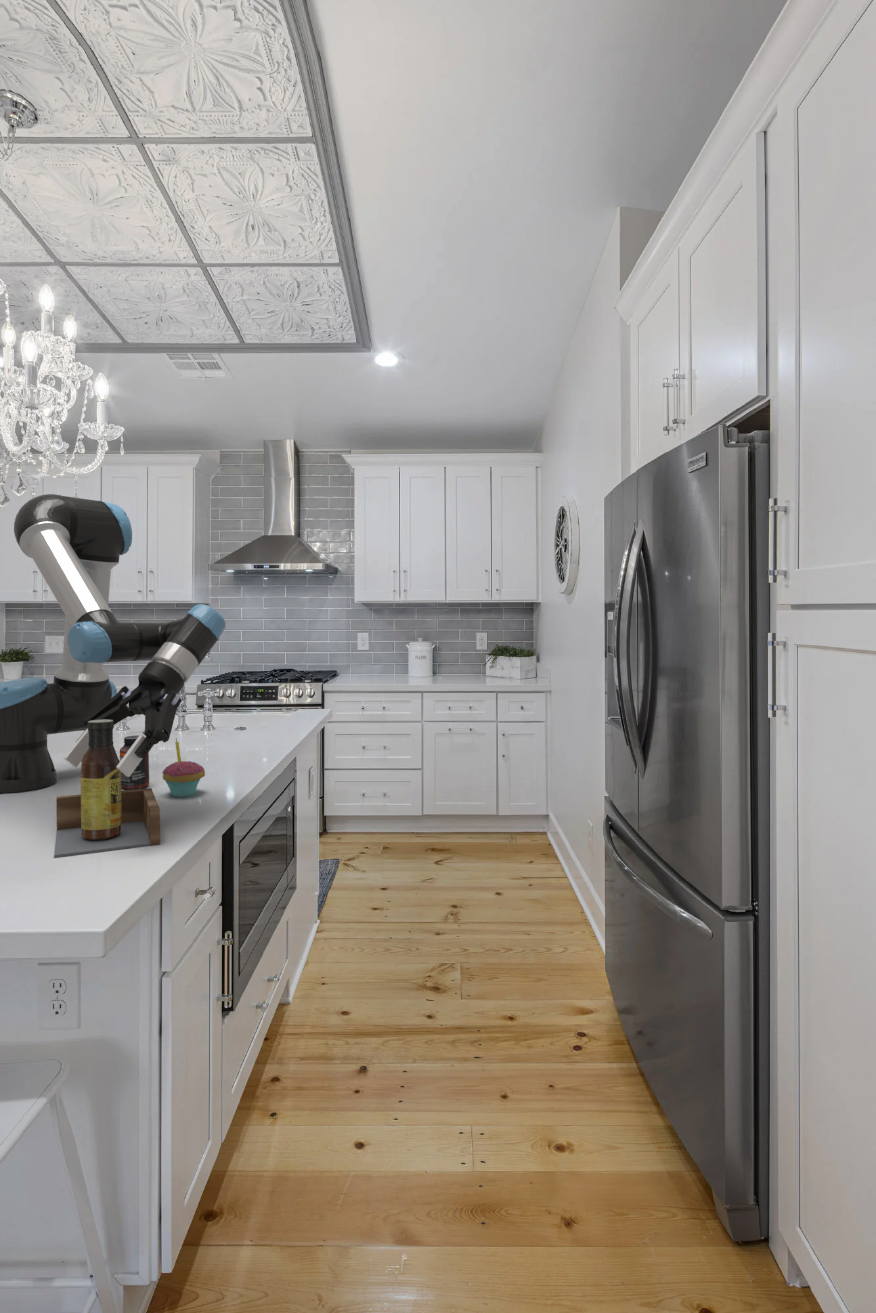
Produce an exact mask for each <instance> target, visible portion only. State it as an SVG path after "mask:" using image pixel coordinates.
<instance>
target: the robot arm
mask: <svg viewBox="0 0 876 1313" xmlns="http://www.w3.org/2000/svg"><path fill="white" fill-rule="evenodd" d="M13 522H14V523H13V532H14V537H15V540H16V543H17V544H18V547H19V548H20V550H21V551H22V553H23V554H24V555H25V556H26V557H29V558H31V559H33V562H34V563H35V565H36V567H37V569H38V570H39V572H40V574H41V576H42V577H43V579H44V580H45V583H46V585H47V586H48V588H49V589H50V592H51V593H52V594H53V597H54V598H55V599H56V601H57V603H58V605H59V607H60V609H61V610H62V612H63V613H64V615H65V624H64V636H63V651H62V663H61V664H62V665H61V667H60V668H59V669H57V670H56V671H55V672H54V673H53V682H52V683H49V682H48V681H47V679H45V678H44V677H30V678H29V677H28V678H19V679H13V680H7V681H2V682H0V793H3V794H4V793H6V794H7V793H18V792H27V791H33V790H39V789H42V788H46V787H50V786H52V785H54V784H55V783H57V781H58V780H57V779H58V775H57V770H56V769H55V765H54V761H53V759H52V756H51V754H50V751H49V749H48V748H49V747H48V735H52V734H53V735H56V734H62V733H63V734H65V733H72V732H80V731H83V732H82V734H80V736H79V737H78V738H77V740H76V741H75V743H74V744H73V746H72V747H71V748H70V749H69V750H68V752H67V753H66V754H65V755H64V757H63V759H64V760H65V761H66V762H68V763H69V764H70V765H71V766H72V767H74V768H78V767H79V765H81V764H82V759H83V757H84V754H86V752H87V750H88V749H89V745H88V743H89V732H88V727H87V723H88V721H92V720H103V719H107V720H113V721H114V726H116V725H117V724H118V723H120V722H122V721H123V720H124V719H126V718H127V717H128V718H133V717H134V716H135V715H137V716H140V715H142V716H144V730H143V731H142V734H143V735H141V734H139V737H138V738H137V740H136V741H135V742H134V744H133V745H132V746H131V748H130V749H129V750H128V752H127V753H126V754H125V756H124V757H123V758H122V760H121V761H120V760H119V761H120V762H119V764H118V765H117V768H118V769H119V770H120V771H121V772H122V773H123V774H124V775H125V776H127V777H130V775H131V774H132V773H133V771H134V770H135V769H136V767H137V766H138V764H139V763H140V762H141V760H142V759H143V758H144V757H145V756H146V755H147V754H148V752H150V751H151V750H152V748H153V747H154V746H155V745H157V744H158V743H159V742H162V743H167V742H169V740H170V737H171V732H172V729H173V724H174V721H175V717H176V715H177V709H178V708H179V706H180V705H181V704H182V702H183V699H182V698H181V697H180V696H179V693H180V692H181V691H182V690H183V688H184V686H185V683H187V682H188V680H189V679H190V678H191V676H192V675H193V674H194V672H195V671H196V669H197V668H198V667H199V666H200V664H201V663H202V661H203V660H204V659H205V658H206V656H207V655H208V653H210V652H211V650H212V648H213V647H214V646H215V644H216V643H217V642H218V641H219V640H220V638H221V635H222V634H223V632H224V630H226V621H225V618H224V617H223V615H221V614H220V612H219V611H217V610H216V609H215V608H213V607H212V606H209V605H206V604H203V603H201V604H200V603H198V604H196V605H194V606H192V607H191V609H190V610H189V611H187V613H186V615H185V616H184V617H182V618H180V619H175V620H171V621H168V622H166V621H165V622H120V621H118V619H117V618H116V616H115V615H114V613H113V612H112V610H111V608H110V607H109V598H110V589H111V588H110V587H111V578H112V577H111V575H112V574H111V573H112V569H113V568H114V567H116V566H117V565H118V564H119V563H120V556H123V555H125V554H126V553H128V552H129V551H130V548H131V547H132V542H133V529H132V524H131V520H130V517H129V516H128V515H127V512H126V511H125V510H124V509H123V508H122V507H121V506H119V505H117V504H116V503H111V502H106V501H102V500H96V499H89V498H88V499H86V498H80V497H73V496H65V495H61V494H55V493H54V494H53V493H48V494H41V495H39V496H35V497H33V498H31V499H29V500H28V501H27V502H25V503H24V504H23V505H22V506H21V507H20V508H19V510H18V512H17V513H16V516H15V519H14V521H13ZM143 661H144V662H145V661H149V662H148V663H147V664H146V666H144V668H143V669H142V670H141V672H140V673H139V675H138V678H137V680H138V685H137V686H136V687H135V688H134V689H129V688H128V686H126V685H125V686H123V687H121V688H120V689H119V691H118V690H117V689H118V688H117V686H116V685H115V684H114V682H113V681H111V680H110V675H109V673H107V672H106V670H104V663H116V662H121V663H122V662H143ZM117 691H118V692H117Z"/></svg>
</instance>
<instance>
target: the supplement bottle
mask: <svg viewBox="0 0 876 1313" xmlns="http://www.w3.org/2000/svg"><path fill="white" fill-rule="evenodd" d="M139 736H140V734H138V735H128V736H124V738H123V743H124V744H123V746H121V748H120V749H119V761H121V760H122V758H123V757H124V756H125V754H126V753H127V752H128V750H129V749H130V748H131V746H132V745H133V744H134V742H135V741H136V740H137V738H138V737H139ZM149 752H150V751H149ZM149 752H148V754H147V755H146V756H145V757H144V758H143V759H142V760H141V762H140V763H139V764H138V766H137V767H136V769H135V770H134V771H133V773H132V774H131V775H130V777H127V776H125V775H124V774H123V773H122V772H121V789H123V790H135V789H145V788H147V787H148V786H149V784H150V760H149V758H150V755H149Z"/></svg>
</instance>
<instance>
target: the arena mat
mask: <svg viewBox="0 0 876 1313" xmlns="http://www.w3.org/2000/svg"><path fill="white" fill-rule="evenodd" d="M149 846H151V845H150V840H149V837H148V834H147V831H146V827H145V824H144V821H135V822H126V823H122V824H121V832H120V833H119V834H118V835H117V836H115V837H112V838H108V839H103V840H87V839H85V838H83V837H82V828H72V829H63V830H57V829H56V834H55V843H54V854H53V858H55V859H56V858H62V857H63V858H64V857H70V856H77V855H78V856H79V855H86V854H93V853H100V852H101V853H102V852H109V851H117V850H125V849H133V848H142V847H149Z"/></svg>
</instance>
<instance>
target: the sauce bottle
mask: <svg viewBox="0 0 876 1313" xmlns="http://www.w3.org/2000/svg"><path fill="white" fill-rule="evenodd" d="M87 727H88V732H89V743H88V745H89V749H88V750H87V752H86V754H84V757H83V759H82V761H81V763H80V768H81V771H80V773H81V775H80V794H81V828H82V837H83V838H85V839H87V840H103V839H108V838H112V837H115V836H117V835H118V834H119V833H120V832H121V824H122V818H121V791H122V788H121V771H120V770H119V769H118V768H117V765H118V764H119V762H120V758H119V757H118V754H117V751H116V749H115V747H114V740H113V739H114V732H113V730H114V728H115V725H114V721H113V720H107V719H103V720H92V721H88V723H87Z"/></svg>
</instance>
